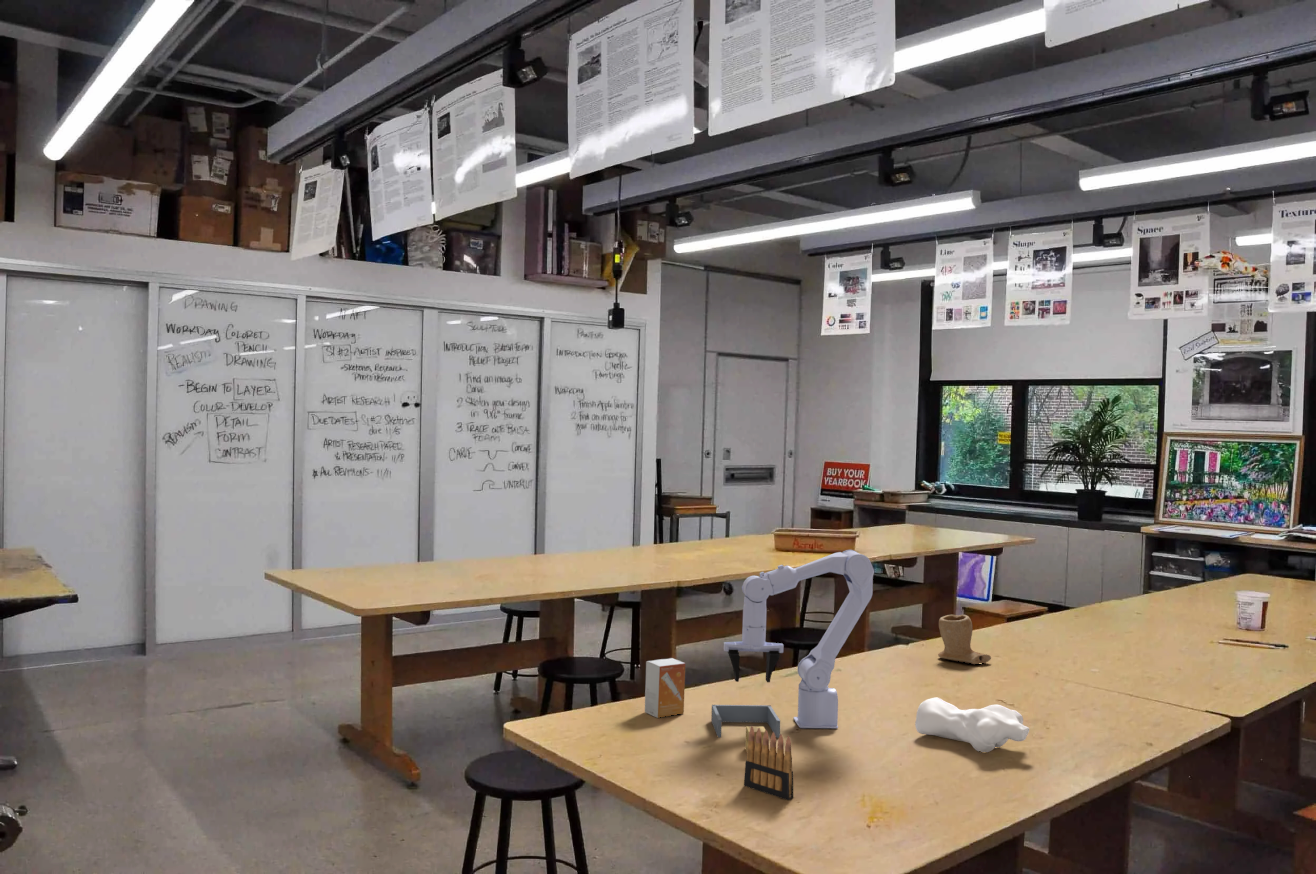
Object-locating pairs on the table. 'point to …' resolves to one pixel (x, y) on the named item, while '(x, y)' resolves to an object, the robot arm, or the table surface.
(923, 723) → the torso sculpture
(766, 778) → the ammunition clip
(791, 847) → the table surface
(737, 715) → the u-shaped frame
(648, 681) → the small box
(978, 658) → the tan textured boot shape
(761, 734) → the block
